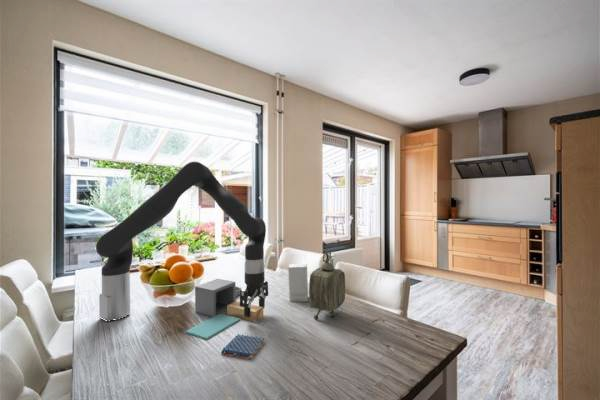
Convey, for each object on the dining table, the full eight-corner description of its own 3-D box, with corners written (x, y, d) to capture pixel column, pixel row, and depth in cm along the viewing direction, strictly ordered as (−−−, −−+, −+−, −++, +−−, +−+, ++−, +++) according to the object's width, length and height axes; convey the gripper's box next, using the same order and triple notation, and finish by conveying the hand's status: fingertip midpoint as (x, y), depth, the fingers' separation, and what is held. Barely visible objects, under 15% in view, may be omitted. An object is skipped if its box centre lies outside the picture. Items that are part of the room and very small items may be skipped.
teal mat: (206, 339, 87) (206, 337, 87) (186, 332, 92) (186, 330, 92) (240, 320, 101) (240, 318, 101) (220, 315, 106) (220, 313, 106)
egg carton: (230, 301, 122) (229, 292, 122) (216, 299, 124) (216, 290, 124) (243, 293, 132) (243, 285, 132) (230, 291, 134) (230, 283, 134)
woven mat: (266, 342, 86) (266, 336, 86) (251, 362, 76) (251, 354, 76) (237, 338, 89) (237, 332, 89) (219, 356, 78) (219, 349, 79)
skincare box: (308, 297, 125) (308, 263, 125) (307, 302, 118) (306, 266, 119) (290, 296, 126) (290, 263, 126) (288, 301, 119) (288, 266, 119)
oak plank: (255, 322, 100) (255, 312, 100) (227, 315, 106) (227, 305, 106) (263, 317, 104) (263, 307, 104) (235, 311, 111) (235, 301, 111)
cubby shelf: (213, 316, 105) (213, 290, 105) (195, 311, 110) (195, 286, 110) (235, 305, 116) (235, 281, 116) (218, 301, 121) (217, 278, 121)
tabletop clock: (326, 307, 113) (325, 247, 113) (346, 311, 108) (345, 249, 108) (309, 320, 100) (308, 253, 100) (331, 326, 96) (330, 255, 96)
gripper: (258, 265, 111) (258, 304, 111) (234, 273, 98) (234, 317, 98) (273, 267, 107) (273, 308, 107) (250, 276, 95) (250, 322, 95)
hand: (254, 312), depth 103 cm, fingers open, 8 cm apart
